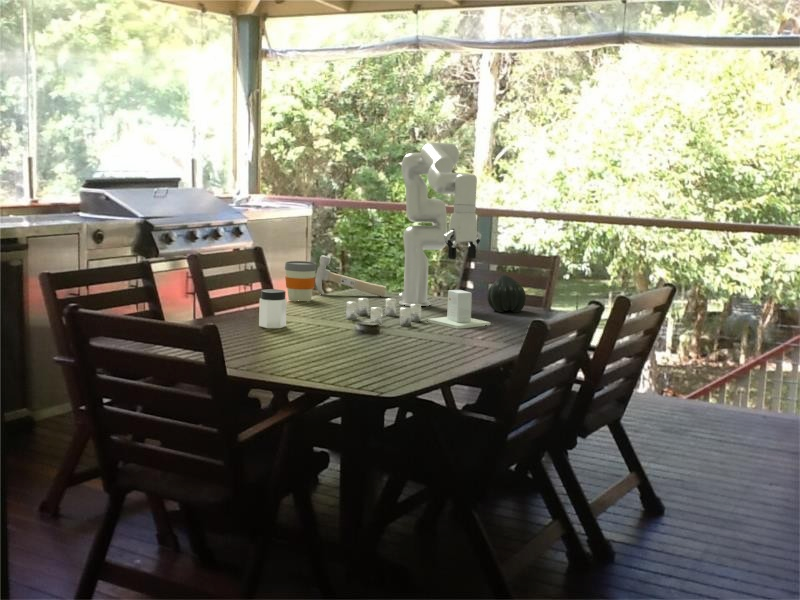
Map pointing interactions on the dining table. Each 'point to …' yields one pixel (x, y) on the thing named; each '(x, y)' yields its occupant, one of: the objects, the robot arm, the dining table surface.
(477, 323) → the pad
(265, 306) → the jar
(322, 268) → the hammer
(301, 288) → the reusable coffee cup
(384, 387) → the dining table surface
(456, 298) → the small box
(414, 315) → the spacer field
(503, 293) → the squash
